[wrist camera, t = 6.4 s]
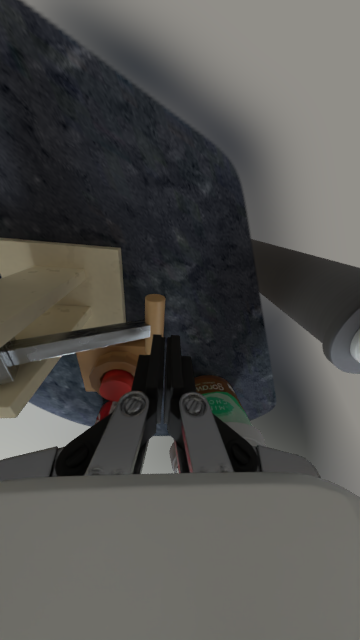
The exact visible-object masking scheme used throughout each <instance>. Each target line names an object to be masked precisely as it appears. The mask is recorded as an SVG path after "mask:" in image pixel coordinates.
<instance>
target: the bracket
mask: <svg viewBox="0 0 360 640" xmlns="http://www.w3.org/2000/svg"><path fill="white" fill-rule="evenodd" d="M0 274H1V276H2V278H1V279H0V348H1V347H2V346H3V345H4V344H6V343H7V342H8V341H9V340H11V339H12V338H13V337H14V336H15V338H16V340H19V339H26V338H32V337H38V336H44V335H50V334H57V333H63V332H69V331H75V330H81V329H88V328H94V327H100V326H106V325H112V324H119V323H125V322H126V315H125V301H124V286H123V272H122V257H121V248H116V247H104V246H93V245H81V244H69V243H57V242H46V241H34V240H22V239H10V238H0ZM60 358H61V356H58V357H53V358H48V359H43V360H39V361H34V362H29V363H24V364H20V365H19V368H18V371H17V374H16V377H15V380H14V381H13V382H10V383H5V384H1V385H0V418H16V417H17V416H18V415H19V413H20V412H21V411H22V409H23V408H24V407H25V405H26V404H27V402H28V401H29V400H30V398H31V397H32V396H33V394H34V393H35V392H36V390H37V389H38V388H39V386H40V385H41V383H42V382H43V381H44V379H45V378H46V377H47V375H48V374H49V373H50V371H51V370H52V368H53V367H54V366H55V364H56V363H57V362H58V360H59V359H60Z"/></svg>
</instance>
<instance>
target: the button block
mask: <svg viewBox="0 0 360 640" xmlns="http://www.w3.org/2000/svg"><path fill="white" fill-rule="evenodd" d="M76 354H77V358H78V362H79V366H80V370H81V374H82V377H83V381H84V385H85V389H86V391H96V392H98V393H99V394H100V392H99V388H100V385H101V383H102V380H103V377H104V375H105V374H106V373H107V372H108V371H110V370H114V369H122V370H125V371H127V372H129V373H131V374H132V375H133V377H134V375H135V371H136V366H137V362H138V357H139V355H147V354H146V352H145V338H144V339H139V340H134V341H129V342H124V343H120V344H115V345H110V346H105V347H101V348H96V349H91V350H86V351H82V352H77V353H76ZM100 395H101V394H100Z"/></svg>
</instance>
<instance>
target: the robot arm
mask: <svg viewBox="0 0 360 640" xmlns="http://www.w3.org/2000/svg"><path fill="white" fill-rule="evenodd" d="M164 347H165V337H162V335H157V334H153V339H152V346H151V353H150V355H139V357H138V362H137V366H136V371H135V375H134V379H133V384H132V388H131V391H130V392H127V393H125V394H124V395H123V396H122V397H120V399H119V401H118V402H117V405H116V407H115V409H114V411H113V412H111V413H110V414H109V415H107V416H106V417H104V418H103V419H102V420H100V421H99V422H98V423H96V424H95V425H93V426H92V427H91V428H89V429H88V430H86V431H85V432H84V433H82V434H81V435H79V436H78V437H77V438H75V439H74V440H72V441H71V442H70V443H69V444H67V445H66V446H65V447H62V448H58V447H57V446H56V447H53V448H48V449H44V450H40V451H36V452H31V453H27V454H23V455H19V456H15V457H11V458H6V459H3V460H0V640H360V497H358V496H357V495H355V494H353V493H352V492H350V491H348V490H347V489H345V488H343V487H341V486H339V485H337V484H335V483H332V482H330V481H327V480H324V479H321V477H320V475H319V473H318V471H317V470H316V468H315V467H314V466H313V465H312V463H311V462H309V461H308V460H307V459H305V458H304V457H302V456H299V455H296V454H292V453H288V452H284V451H280V450H276V449H272V448H268V447H264V446H260V445H257V446H252V445H251V444H250V443H249V442H248V441H246V440H245V439H244V438H243V437H242V436H240V435H239V434H238V433H237V432H235V431H234V430H233V429H232V428H230V427H229V426H228V425H227V424H226V423H224V422H223V421H222V420H221V419H219V418H218V417H217V416H216V415H214V414H213V413H212V411H211V408H210V405H209V403H208V401H207V399H206V398H205V397H204V396H203V395H202V394H200V393H197V392H196V386H195V379H194V373H193V366H192V360H191V356H181V348H180V336H178V335H171V337H168V338H167V352H166V367H165V395H164V424H167V430H168V433H169V434H170V435H171V436H172V437H173V438H174V445H175V452H176V458H177V465H178V471H179V473H174V474H141V472H142V468H143V464H144V459H145V455H146V451H147V446H148V442H149V439H150V438H151V437H152V436H153V435H154V434H155V433H156V424H160V423H161V407H162V392H163V371H164ZM350 352H351V355H352V357H353V358H354V359H355V360H357V361H358V362H359V363H360V328H359V329H358V331H357V332H356V334H355V335H354V337H353V339H352V342H351V345H350Z"/></svg>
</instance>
